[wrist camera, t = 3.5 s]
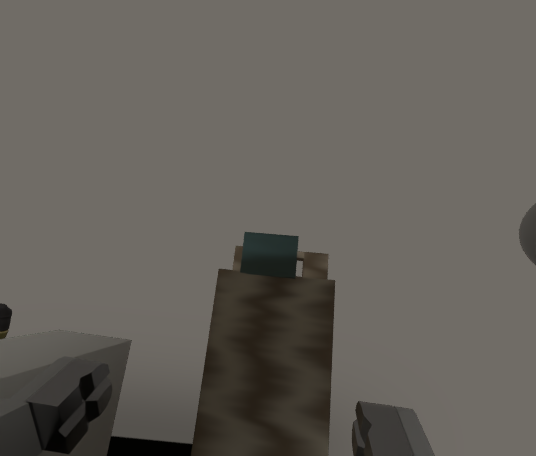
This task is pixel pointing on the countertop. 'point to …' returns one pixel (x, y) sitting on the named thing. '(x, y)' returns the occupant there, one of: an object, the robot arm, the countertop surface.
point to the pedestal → (47, 352)
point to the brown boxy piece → (268, 364)
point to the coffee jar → (4, 320)
